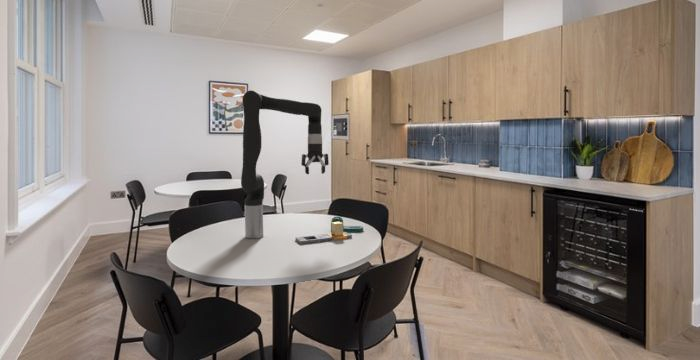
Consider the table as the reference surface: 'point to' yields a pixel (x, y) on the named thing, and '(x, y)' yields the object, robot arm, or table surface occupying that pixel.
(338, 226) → the block
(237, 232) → the table surface
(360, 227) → the bracket
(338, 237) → the rail
